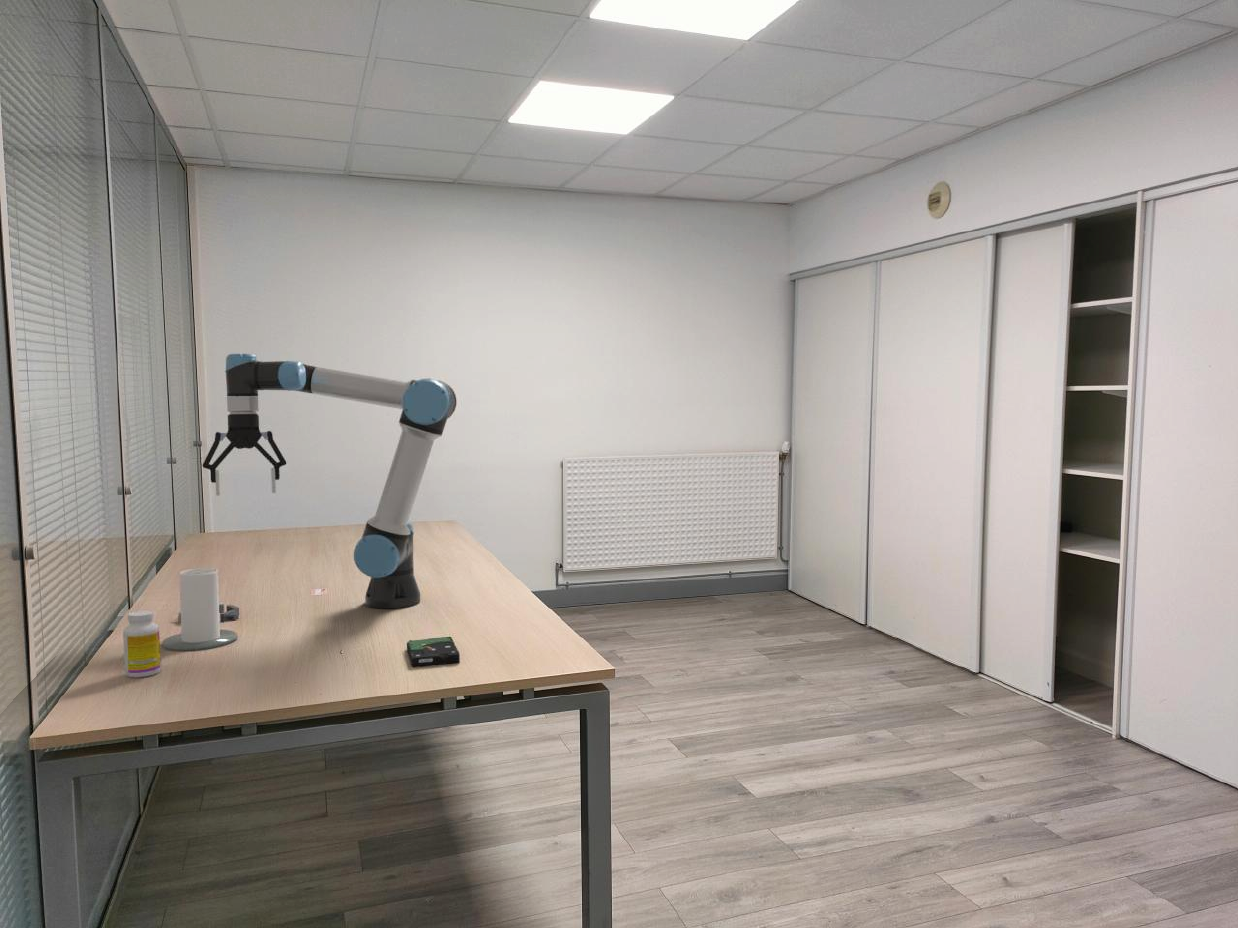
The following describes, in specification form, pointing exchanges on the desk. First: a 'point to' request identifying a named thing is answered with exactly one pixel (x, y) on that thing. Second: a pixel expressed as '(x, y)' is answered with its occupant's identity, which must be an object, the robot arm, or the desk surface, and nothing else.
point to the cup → (199, 605)
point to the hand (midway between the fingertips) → (246, 493)
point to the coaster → (179, 645)
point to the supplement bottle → (141, 645)
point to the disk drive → (432, 652)
